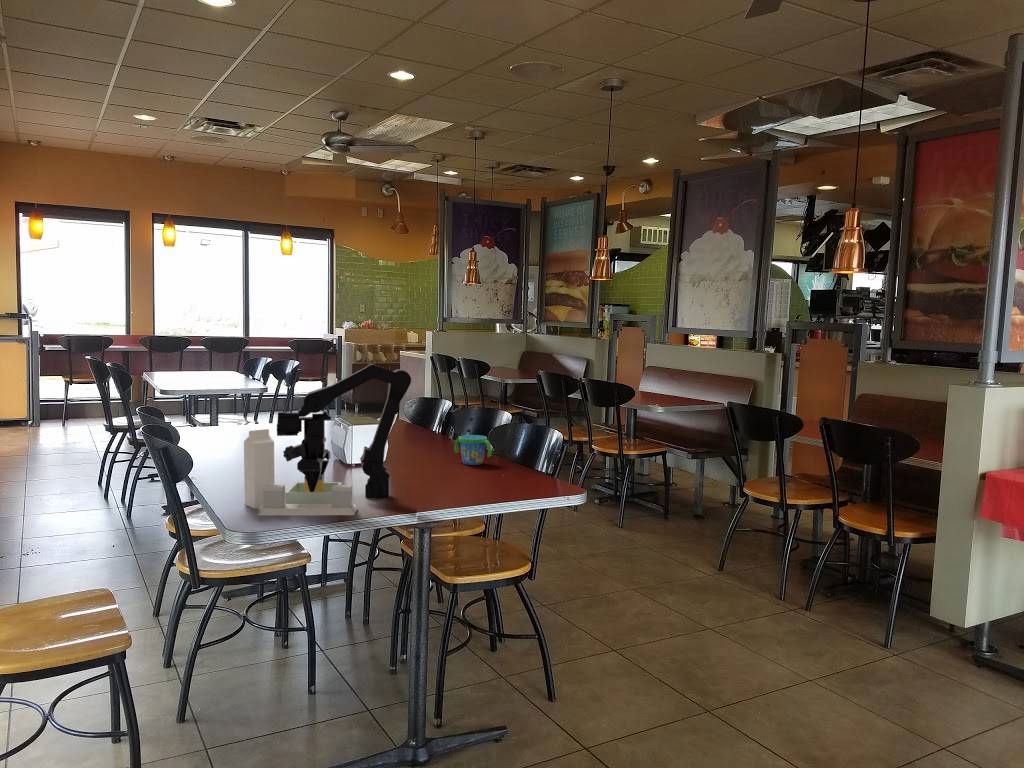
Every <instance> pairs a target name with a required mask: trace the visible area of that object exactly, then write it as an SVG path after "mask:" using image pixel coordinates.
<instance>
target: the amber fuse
mask: <svg viewBox="0 0 1024 768" xmlns="http://www.w3.org/2000/svg"><path fill="white" fill-rule="evenodd" d="M304 482H305V492H310V491H309V487H308V483H307V480H306V477H305V476H304ZM324 482H325V473H324V474H320V476H319V479H318V482H317V485H316V488H315V490H314V492H324Z"/></svg>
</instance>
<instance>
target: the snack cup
mask: <svg viewBox="0 0 1024 768" xmlns="http://www.w3.org/2000/svg"><path fill="white" fill-rule="evenodd" d="M459 443H460V448H459ZM486 447H487V449H488V450H487V455H486V457H487V458H490V457H491V456H492V454H493V450H492V446H491V442H490V441H489V440H488V437H487V436H485V435H479V434H467V435H466V434H465V435H460V436H459V437H457V438H456V440H455V442H454V448H453V450H454V453H455V454H457V453H459V452H460V453H461V455H460V456H461V461H462V463H463V465H468V466H469V465H470V466H479V465H480V466H481V464H483V463H484V457H485V451H486Z"/></svg>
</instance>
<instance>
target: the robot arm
mask: <svg viewBox="0 0 1024 768" xmlns="http://www.w3.org/2000/svg"><path fill="white" fill-rule="evenodd" d="M373 379H375V380H378V381H381V382H383V383H386V384H387V383H388V387H387V397H386V400H385V403H384V405H383V406H384V407H383V409H382V411H381V412H382V413H381V415H380V418H379V421H378V423H377V428H376V430H375V433H374V436H373V440H372V442H371V444H370V445H369V447H367V446H364V447H363V452H362V454H361V456H360V457H359V461H360V464H361V467H362V471H363V473H364V474H365V475H366V476H368V477H369V478H367V481H366V482H367V483H365V492H364V493H365V494H364V495H365V496H364V497H365V499H370V500H384V499H385V500H386V499H389V498H390V495H391V494H390V493H391V492H390V491H391V490H390V489H391V486H390V485H391V484H390V483H391V478H390V473H389V471H388V469H387V467H385V466H384V458H385V452H386V451H385V448H386V444H387V441H388V439H389V436H390V434H391V430H392V427H393V424H394V422H395V418H396V414H397V412H398V408H399V406H400V404H401V401H402V399H404V396H405V395H406V393H407V391H408V389H409V388H410V386H411V384H412V377H411V375H410V373H409V372H408V371H406V370H404V369H401V368H398V369H395V370H393V369H389V368H385V367H382V366H379V365H376V364H374V363H369V364H367V365H366V366H365V367H364V368H363V367H362V368H361V369H359V370H358V371H355V372H354V373H352V374H350V375H348V376H347V377H344V378H342V379H340V380H339V381H337V382H335V383H333V384H332V385H327V386H325V387H321V388H318V389H315V390H312V391H309V392H308V393H307V394H306V395H305V396H304V398H303V399H304V400H303V405H302V406H301V407H300V408H299V409H298V411H297V412H293V411H292V412H291V411H290V412H284V411H278V413H277V424H276V436H277V437H291V436H293V437H296V436H298V435H299V433H302V430H303V439H302V440H301V443H299V444H297V445H289V446H286V447H285V450H283V451H282V452H283V458H285V460H286V462H287V463H288V462H290V461H292V460H294V459H297V458H300V457H301V459H300V460H298V462H297V463H296V465H297V467H296V470H297V471H299V472H300V473H302V474H303V475H304V478H305V477H306V480H307V483H308V487H309V491H310V492H314V490H315V488H316V485H317V482H318V479H319V476H320V474H324V475H325V472H326V470H327V468H328V465H329V462H330V460H331V451H330V450H329V449H327V448H325V447H326V446H325V444H326V442H327V437H326V435H325V434H326V433H325V431H326V430H325V422H326V421H331V419H332V416H331V415H329V413H328V412H327V410H324V409H325V407H327V406H329V405H330V404H331V403H332V402H333V401H334V400H336V399H337V398H339V397H341V396H342V395H344V394H346V393H348V392H350V391H352V390H353V389H356V388H357V387H360V385H363V384H365V383H366V382H369V381H370V380H373ZM322 410H324V411H323V413H319V412H321V411H322ZM310 414H311V415H312V416H308V415H310ZM302 421H303V422H302ZM302 425H303V427H302ZM325 459H326V460H325Z"/></svg>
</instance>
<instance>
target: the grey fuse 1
mask: <svg viewBox="0 0 1024 768" xmlns="http://www.w3.org/2000/svg"><path fill="white" fill-rule="evenodd" d="M285 492H286V485H285V484H274V485H265V486H264V487H263V508H284V507H285Z"/></svg>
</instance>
